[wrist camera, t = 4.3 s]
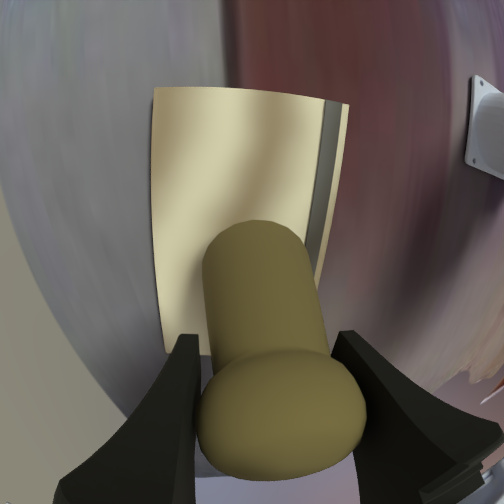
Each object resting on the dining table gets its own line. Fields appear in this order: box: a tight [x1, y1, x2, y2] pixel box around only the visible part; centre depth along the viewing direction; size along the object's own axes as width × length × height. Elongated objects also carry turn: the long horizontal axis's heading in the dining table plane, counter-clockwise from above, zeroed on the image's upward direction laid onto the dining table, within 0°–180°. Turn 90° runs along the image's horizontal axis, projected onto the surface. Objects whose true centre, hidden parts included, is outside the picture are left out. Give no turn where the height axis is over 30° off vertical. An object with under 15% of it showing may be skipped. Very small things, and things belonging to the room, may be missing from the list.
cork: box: [195, 220, 367, 481], centre depth 11 cm, size 6×6×11 cm
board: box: [151, 87, 349, 355], centre depth 18 cm, size 11×19×1 cm, turn 175°
